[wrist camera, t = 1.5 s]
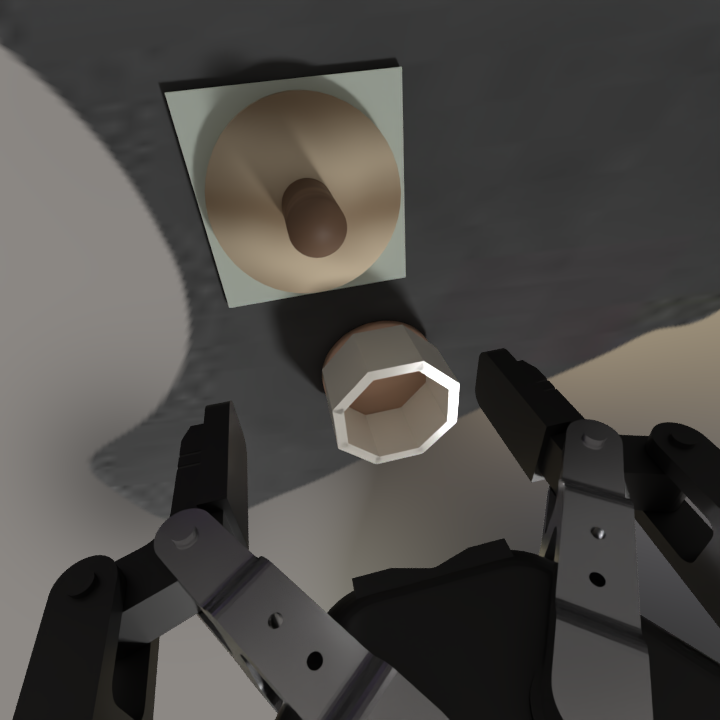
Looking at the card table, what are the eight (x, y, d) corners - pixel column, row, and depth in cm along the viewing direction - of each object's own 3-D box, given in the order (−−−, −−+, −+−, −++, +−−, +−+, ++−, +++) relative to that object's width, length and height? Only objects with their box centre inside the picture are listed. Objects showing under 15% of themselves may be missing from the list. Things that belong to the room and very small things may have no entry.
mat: (165, 92, 23) (164, 93, 23) (399, 66, 24) (401, 66, 24) (229, 305, 31) (229, 307, 30) (404, 274, 32) (405, 277, 32)
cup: (313, 333, 33) (325, 379, 29) (433, 310, 35) (463, 351, 30) (329, 422, 39) (341, 473, 35) (430, 400, 41) (455, 446, 36)
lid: (177, 102, 23) (162, 114, 19) (393, 78, 24) (426, 84, 20) (234, 300, 30) (233, 342, 26) (398, 271, 32) (423, 307, 27)
